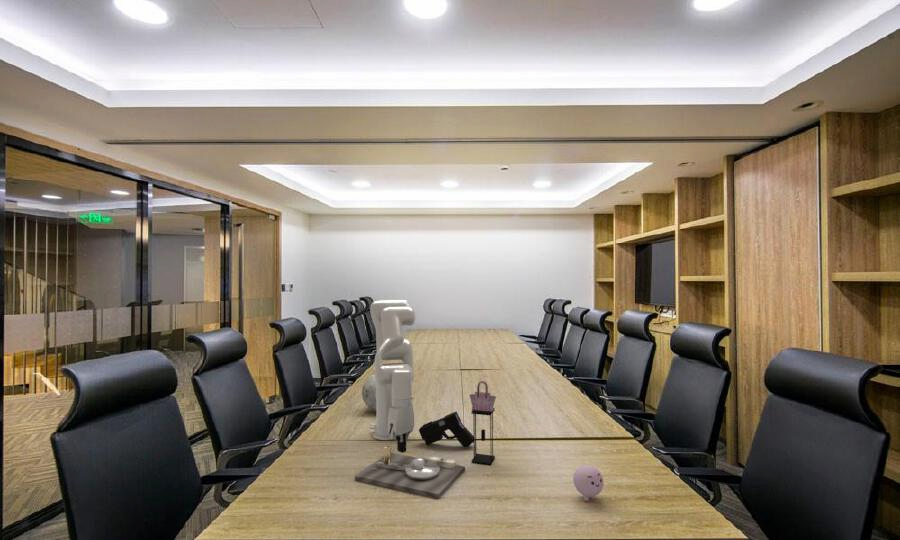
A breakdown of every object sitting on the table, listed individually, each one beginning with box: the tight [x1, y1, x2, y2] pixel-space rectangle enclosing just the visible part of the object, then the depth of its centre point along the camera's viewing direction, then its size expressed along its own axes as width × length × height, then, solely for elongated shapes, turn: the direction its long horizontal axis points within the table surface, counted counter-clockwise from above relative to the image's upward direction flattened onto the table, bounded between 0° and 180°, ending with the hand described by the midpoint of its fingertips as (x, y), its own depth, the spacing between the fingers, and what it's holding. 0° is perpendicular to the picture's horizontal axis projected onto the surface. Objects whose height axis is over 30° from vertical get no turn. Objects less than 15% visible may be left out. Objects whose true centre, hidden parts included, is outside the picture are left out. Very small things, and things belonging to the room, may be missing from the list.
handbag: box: [469, 380, 497, 466], centre depth 164 cm, size 10×8×30 cm
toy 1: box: [418, 411, 474, 449], centre depth 179 cm, size 5×20×15 cm, turn 78°
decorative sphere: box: [361, 373, 376, 412], centre depth 228 cm, size 20×20×20 cm
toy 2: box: [572, 464, 604, 502], centre depth 135 cm, size 9×9×10 cm
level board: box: [354, 452, 466, 500], centre depth 152 cm, size 32×22×4 cm
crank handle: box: [378, 445, 440, 480], centre depth 152 cm, size 23×12×7 cm, turn 72°
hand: (401, 451), depth 161 cm, fingers closed
